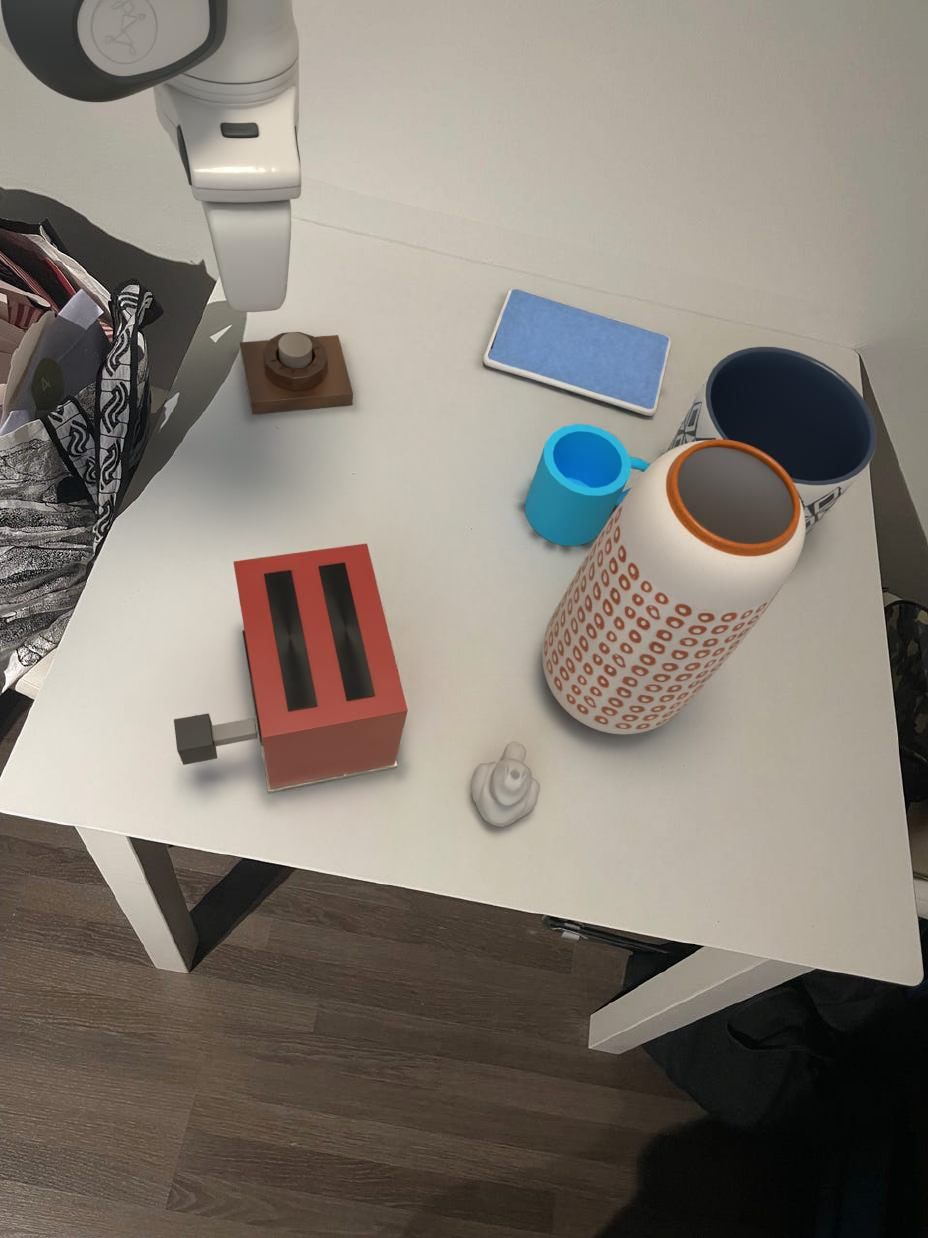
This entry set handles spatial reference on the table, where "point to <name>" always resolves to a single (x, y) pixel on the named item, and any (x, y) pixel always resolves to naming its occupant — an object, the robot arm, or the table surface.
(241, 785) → the table surface
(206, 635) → the table surface
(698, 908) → the table surface
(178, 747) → the toaster slider
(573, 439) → the mug
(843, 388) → the planter
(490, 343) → the tablet
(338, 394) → the control block
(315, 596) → the toaster
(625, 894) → the table surface
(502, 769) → the rubber duck
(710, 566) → the vase
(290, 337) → the button
